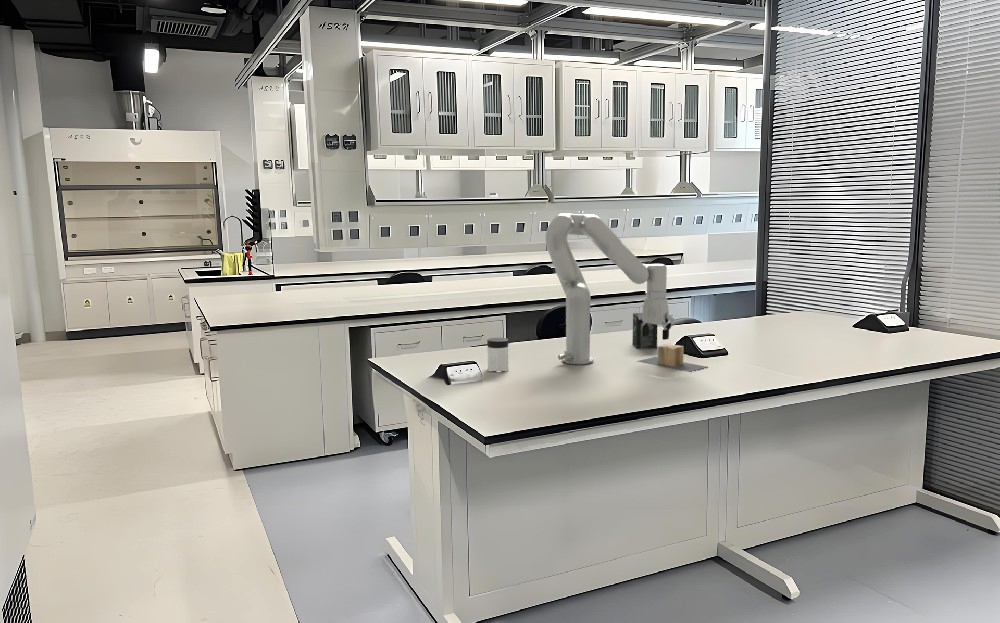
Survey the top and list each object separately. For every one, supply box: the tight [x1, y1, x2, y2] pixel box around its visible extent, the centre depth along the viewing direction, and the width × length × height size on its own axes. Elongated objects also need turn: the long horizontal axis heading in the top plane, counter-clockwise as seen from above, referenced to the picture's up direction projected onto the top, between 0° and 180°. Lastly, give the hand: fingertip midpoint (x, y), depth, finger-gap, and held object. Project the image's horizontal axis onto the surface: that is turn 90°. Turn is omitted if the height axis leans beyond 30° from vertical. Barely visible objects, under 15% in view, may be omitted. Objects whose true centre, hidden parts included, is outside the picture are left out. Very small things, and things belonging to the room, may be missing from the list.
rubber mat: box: [636, 356, 709, 373], centre depth 274 cm, size 12×25×1 cm, turn 40°
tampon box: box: [631, 312, 658, 350], centre depth 308 cm, size 11×9×15 cm
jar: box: [486, 337, 509, 372], centre depth 268 cm, size 9×8×12 cm
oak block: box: [657, 343, 685, 367], centre depth 274 cm, size 7×7×7 cm
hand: (655, 337), depth 278 cm, fingers open, 9 cm apart
